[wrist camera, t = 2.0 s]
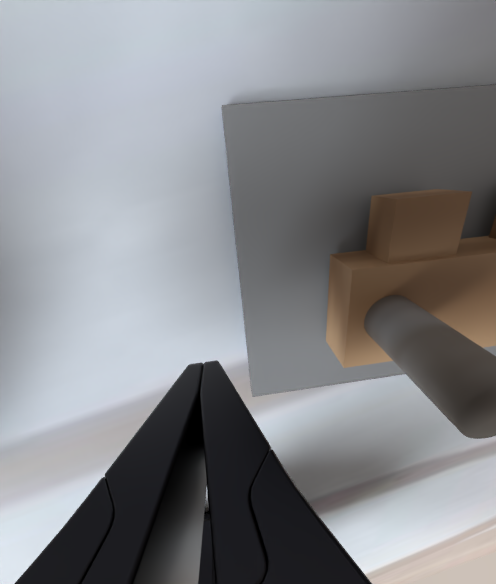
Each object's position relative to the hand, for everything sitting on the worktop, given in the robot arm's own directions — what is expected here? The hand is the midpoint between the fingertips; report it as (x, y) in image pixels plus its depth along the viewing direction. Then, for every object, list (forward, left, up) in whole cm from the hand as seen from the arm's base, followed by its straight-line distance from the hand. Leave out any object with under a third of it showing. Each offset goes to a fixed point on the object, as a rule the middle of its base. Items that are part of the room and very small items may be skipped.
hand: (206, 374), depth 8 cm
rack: (+1, -12, -3) cm, 12 cm away
